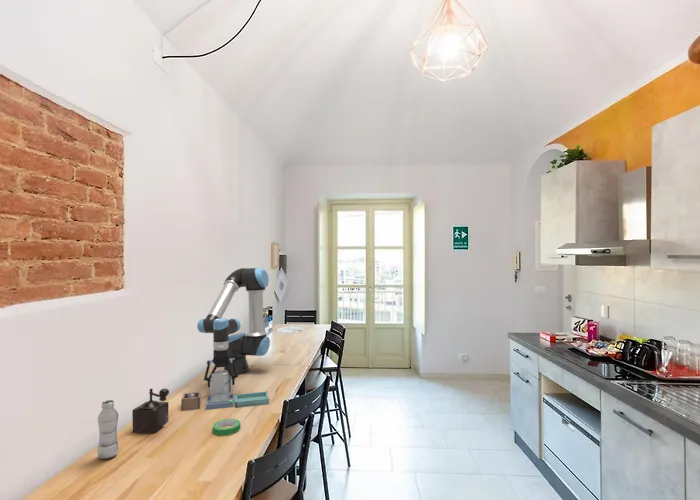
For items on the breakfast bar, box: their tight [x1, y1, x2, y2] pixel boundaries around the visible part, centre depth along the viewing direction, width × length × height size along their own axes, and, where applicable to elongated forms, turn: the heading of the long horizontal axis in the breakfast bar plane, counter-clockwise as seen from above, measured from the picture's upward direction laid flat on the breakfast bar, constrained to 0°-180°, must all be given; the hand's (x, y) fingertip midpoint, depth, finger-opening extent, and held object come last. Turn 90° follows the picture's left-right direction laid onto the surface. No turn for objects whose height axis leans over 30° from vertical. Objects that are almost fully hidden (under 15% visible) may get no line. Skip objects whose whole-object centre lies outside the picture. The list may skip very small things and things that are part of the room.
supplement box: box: [210, 369, 232, 395], centre depth 204 cm, size 7×7×13 cm
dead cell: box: [187, 392, 196, 398], centre depth 189 cm, size 4×4×6 cm
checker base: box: [204, 392, 235, 411], centre depth 192 cm, size 13×13×4 cm
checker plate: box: [210, 394, 230, 404], centre depth 192 cm, size 9×9×1 cm
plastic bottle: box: [96, 399, 119, 460], centre depth 144 cm, size 6×7×20 cm
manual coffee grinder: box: [131, 388, 170, 434], centre depth 167 cm, size 16×11×18 cm
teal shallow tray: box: [234, 390, 270, 409], centre depth 196 cm, size 11×16×2 cm
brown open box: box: [180, 391, 202, 411], centre depth 189 cm, size 8×8×6 cm
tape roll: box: [212, 418, 241, 436], centre depth 165 cm, size 11×11×3 cm
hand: (221, 392), depth 204 cm, fingers closed on supplement box, 9 cm apart
